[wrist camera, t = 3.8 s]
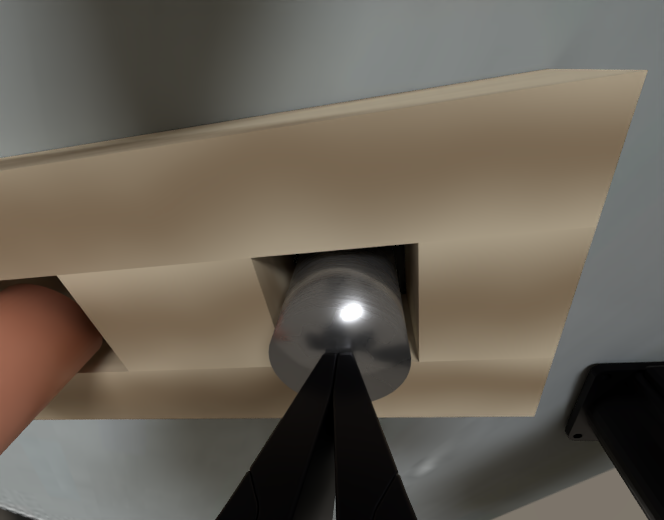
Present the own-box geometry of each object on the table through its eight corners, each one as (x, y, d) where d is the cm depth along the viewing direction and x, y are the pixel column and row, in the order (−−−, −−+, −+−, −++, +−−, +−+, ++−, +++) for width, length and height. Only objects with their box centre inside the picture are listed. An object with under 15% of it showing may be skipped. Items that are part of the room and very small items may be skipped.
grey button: (395, 292, 14) (412, 403, 9) (310, 298, 15) (286, 405, 10) (391, 211, 12) (409, 303, 7) (292, 222, 13) (250, 312, 8)
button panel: (497, 341, 16) (534, 416, 12) (64, 359, 20) (3, 419, 16) (546, 68, 10) (647, 70, 6) (-100, 174, 13) (-255, 210, 10)
